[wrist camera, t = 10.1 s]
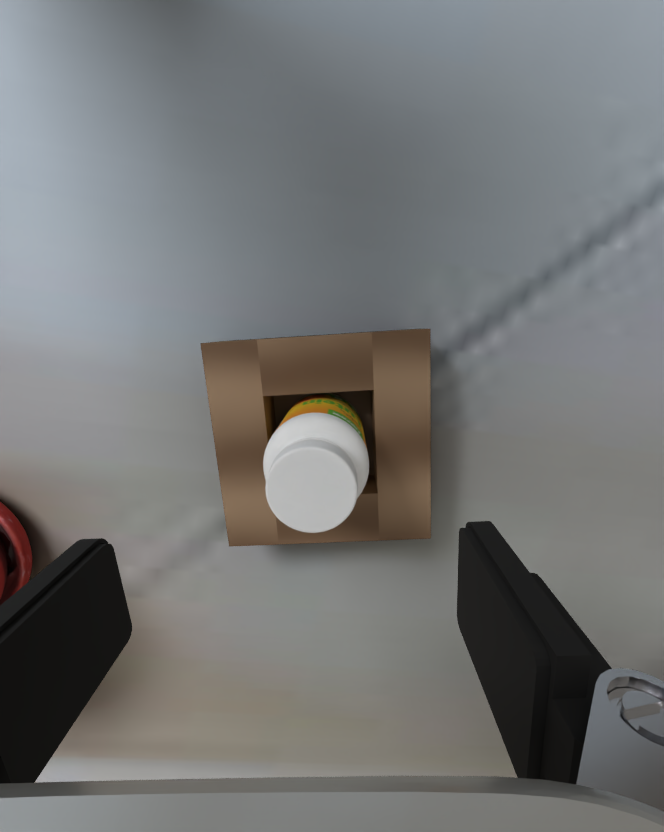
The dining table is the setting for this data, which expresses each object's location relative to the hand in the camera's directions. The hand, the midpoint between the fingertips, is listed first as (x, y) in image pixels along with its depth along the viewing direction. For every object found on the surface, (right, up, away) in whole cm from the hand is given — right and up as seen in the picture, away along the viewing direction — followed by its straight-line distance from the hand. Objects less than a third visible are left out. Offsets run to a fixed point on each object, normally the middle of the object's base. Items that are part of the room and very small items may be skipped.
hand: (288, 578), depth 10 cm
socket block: (+1, +3, +16) cm, 17 cm away
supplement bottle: (+1, +3, +15) cm, 16 cm away
